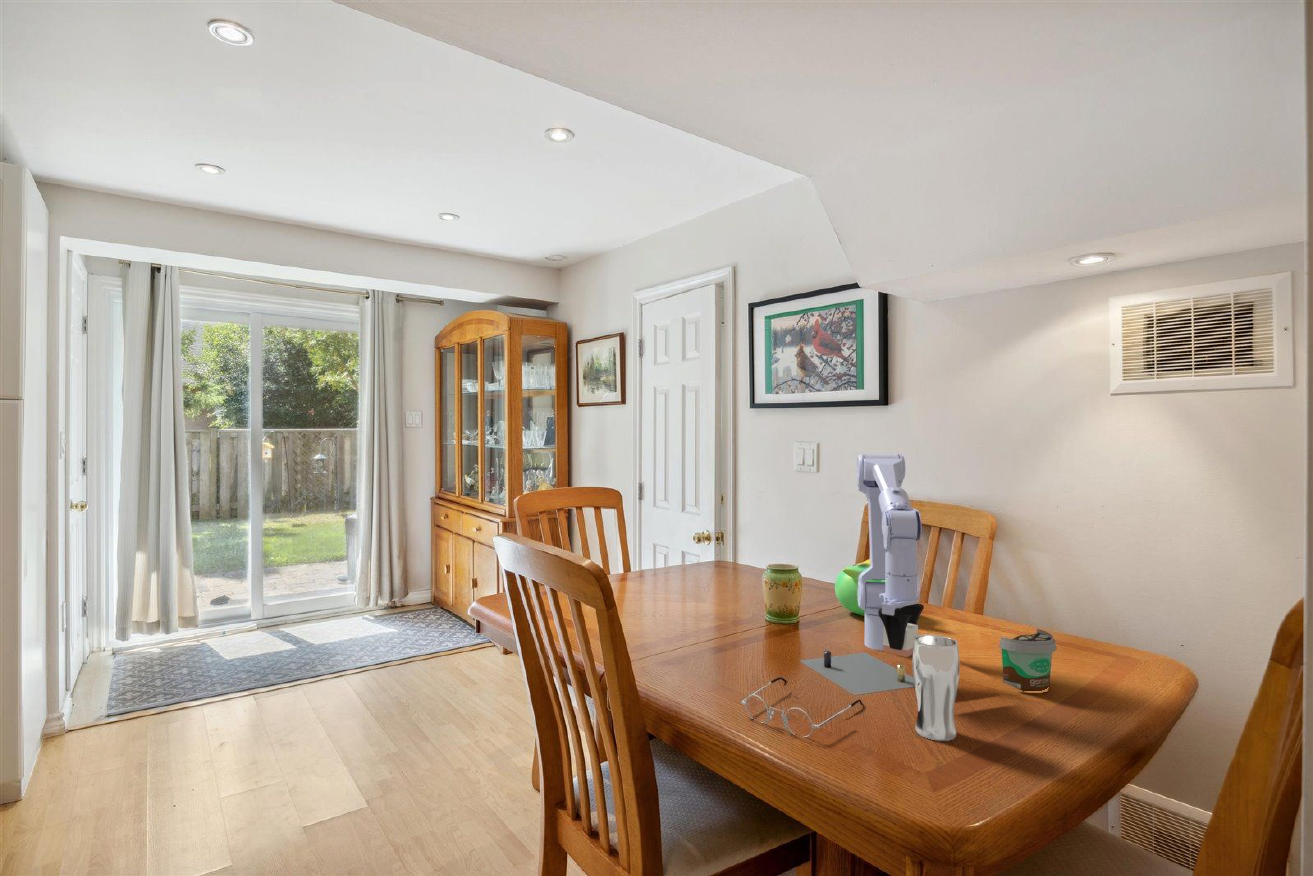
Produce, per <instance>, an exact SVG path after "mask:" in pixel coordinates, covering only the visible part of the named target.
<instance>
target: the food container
mask: <svg viewBox="0 0 1313 876" xmlns="http://www.w3.org/2000/svg"><path fill="white" fill-rule="evenodd" d="M998 648H999V649H1001V664H1002V665H1001V666H1002V676H1003V683H1004V684H1006V685H1007V686H1010V687H1013V688H1014V689H1018V690H1019V691H1021V692H1024V691H1042V690H1045V689H1047V688H1048V687H1049V688H1050V685H1051V684H1050V681H1051V673H1052V670H1051V669H1052V660H1053V659H1052V658H1053V653H1054V652H1056V651H1057V644H1056V640H1055V638H1054V636H1053V634H1051V633H1050V632H1048V631H1046V630H1043V629H1040V628H1037V629H1036V633H1033V634H1027V635H1026V634H1021V635H1017V636H1015V637H1014V638H1008V637H1004V636H1001V637H1000V640H999V646H998Z"/></svg>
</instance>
